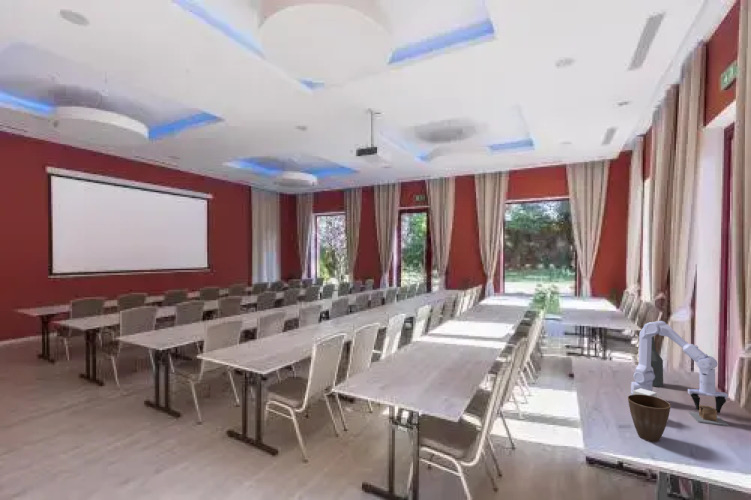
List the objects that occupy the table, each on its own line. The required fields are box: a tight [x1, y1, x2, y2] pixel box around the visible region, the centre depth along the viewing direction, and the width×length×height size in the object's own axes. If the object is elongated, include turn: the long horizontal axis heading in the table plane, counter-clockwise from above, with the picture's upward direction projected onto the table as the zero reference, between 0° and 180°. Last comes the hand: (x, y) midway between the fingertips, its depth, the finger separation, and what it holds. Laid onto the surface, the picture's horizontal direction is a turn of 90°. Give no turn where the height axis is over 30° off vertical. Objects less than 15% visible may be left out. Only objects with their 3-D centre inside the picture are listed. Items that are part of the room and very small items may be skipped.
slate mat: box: [688, 411, 729, 427], centre depth 178 cm, size 11×11×1 cm
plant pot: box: [627, 394, 671, 443], centre depth 161 cm, size 15×15×16 cm
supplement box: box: [633, 388, 658, 398], centre depth 181 cm, size 7×7×13 cm
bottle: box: [651, 336, 664, 388], centre depth 225 cm, size 10×10×30 cm
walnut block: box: [698, 404, 718, 421], centre depth 178 cm, size 5×5×5 cm
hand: (707, 410), depth 178 cm, fingers open, 7 cm apart
